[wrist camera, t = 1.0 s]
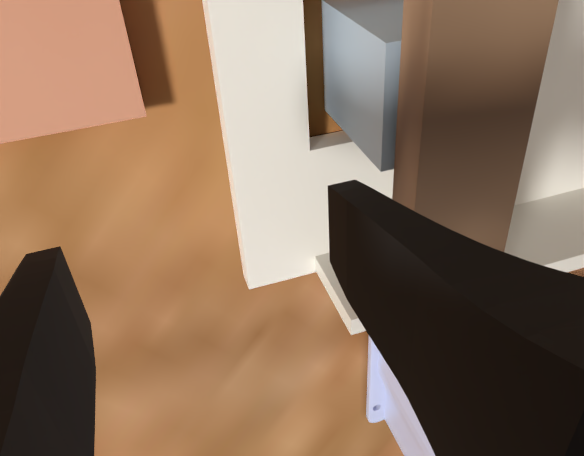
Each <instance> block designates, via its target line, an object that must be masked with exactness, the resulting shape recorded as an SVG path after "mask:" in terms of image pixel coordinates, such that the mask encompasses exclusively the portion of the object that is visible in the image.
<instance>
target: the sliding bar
mask: <svg viewBox="0 0 584 456" xmlns="http://www.w3.org/2000/svg"><path fill="white" fill-rule="evenodd" d="M558 2H559V0H404V3H403V20H402V38H401V55H400V73H399V90H398V108H397V125H396V143H395V160H394V178H393V195H392V199H393V200H395V201H396V202H398V203H400V204H402V205H404V206H406V207H407V208H409V209H411V210H413V211H415V212H417V213H419V214H421V215H423V216H424V217H426V218H428V219H430V220H432V221H434V222H436V223H438V224H440V225H442V226H444V227H446V228H449V229H451V230H453V231H455V232H457V233H459V234H462V235H464V236H466V237H468V238H471V239H473V240H475V241H477V242H480V243H482V244H484V245H487V246H489V247H492V248H494V249H497V250H500V251H502V252H504V251H505V246H506V241H507V237H508V232H509V227H510V223H511V218H512V214H513V209H514V204H515V200H516V195H517V191H518V186H519V181H520V177H521V172H522V168H523V163H524V158H525V154H526V149H527V145H528V140H529V135H530V131H531V126H532V121H533V117H534V112H535V108H536V103H537V98H538V94H539V89H540V85H541V80H542V75H543V71H544V66H545V62H546V57H547V52H548V48H549V43H550V39H551V34H552V29H553V25H554V20H555V15H556V11H557V6H558Z"/></svg>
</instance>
